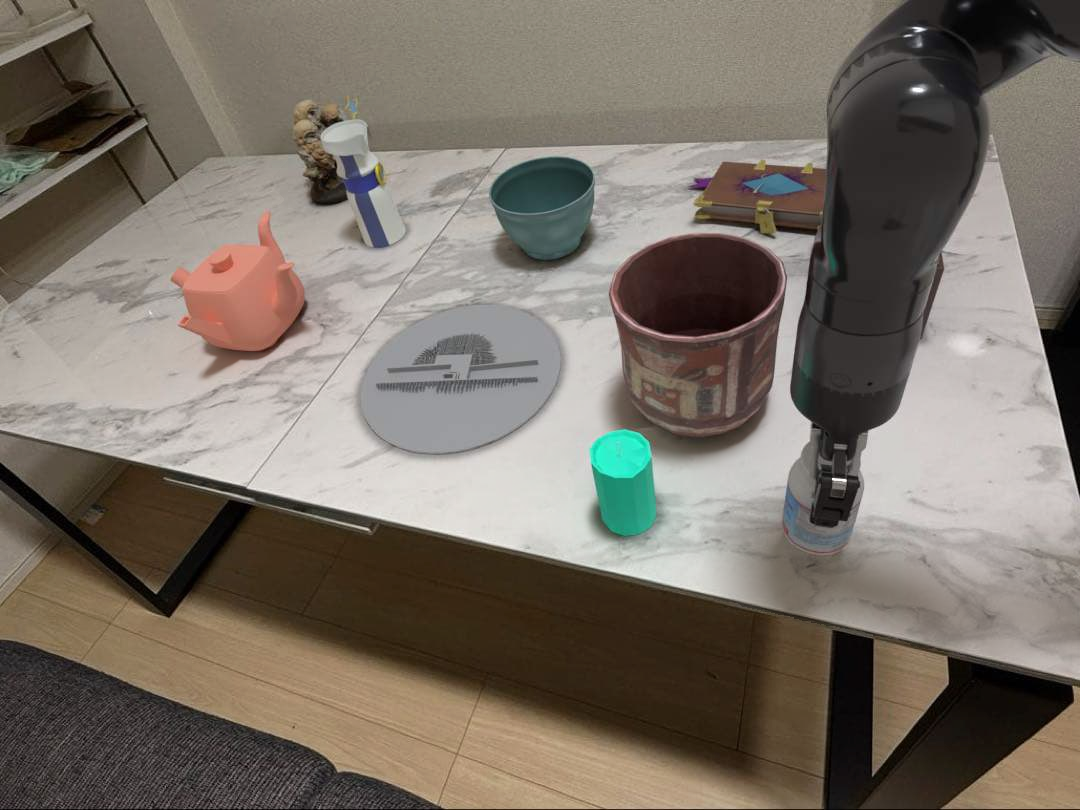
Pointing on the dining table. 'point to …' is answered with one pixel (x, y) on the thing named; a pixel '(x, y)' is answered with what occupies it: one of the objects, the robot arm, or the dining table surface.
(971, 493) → the dining table surface
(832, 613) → the dining table surface
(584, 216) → the flower pot
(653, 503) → the candle
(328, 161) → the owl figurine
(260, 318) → the teapot
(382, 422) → the plate
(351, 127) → the water bottle
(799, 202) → the book
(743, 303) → the pottery
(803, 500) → the pill bottle
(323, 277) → the dining table surface
